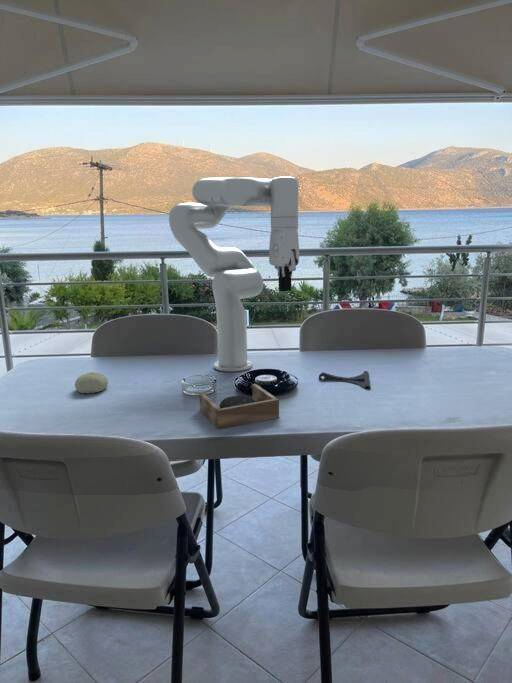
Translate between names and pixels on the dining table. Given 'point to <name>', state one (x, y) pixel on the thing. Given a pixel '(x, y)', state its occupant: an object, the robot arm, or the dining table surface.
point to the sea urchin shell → (91, 383)
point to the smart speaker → (235, 401)
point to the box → (241, 409)
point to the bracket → (349, 379)
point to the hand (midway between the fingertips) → (285, 290)
